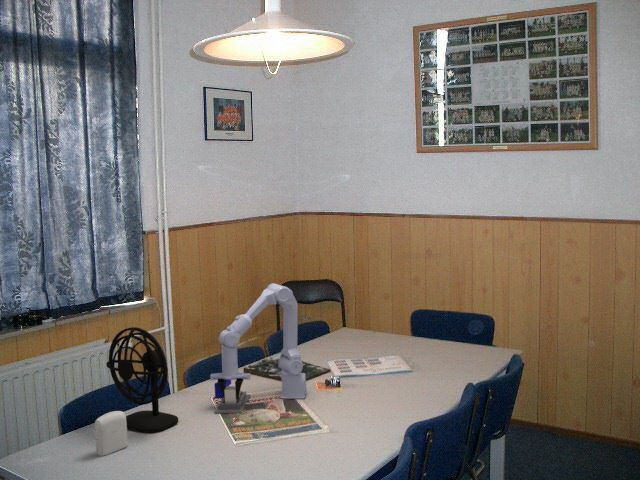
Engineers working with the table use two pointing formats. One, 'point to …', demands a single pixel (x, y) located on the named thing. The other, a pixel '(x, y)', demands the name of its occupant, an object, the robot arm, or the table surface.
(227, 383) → the cable clip
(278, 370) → the topographical map
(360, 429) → the table surface
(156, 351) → the desk fan
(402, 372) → the table surface
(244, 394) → the grey stepped block
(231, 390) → the light gray rectangular block
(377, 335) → the table surface
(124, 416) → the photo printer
